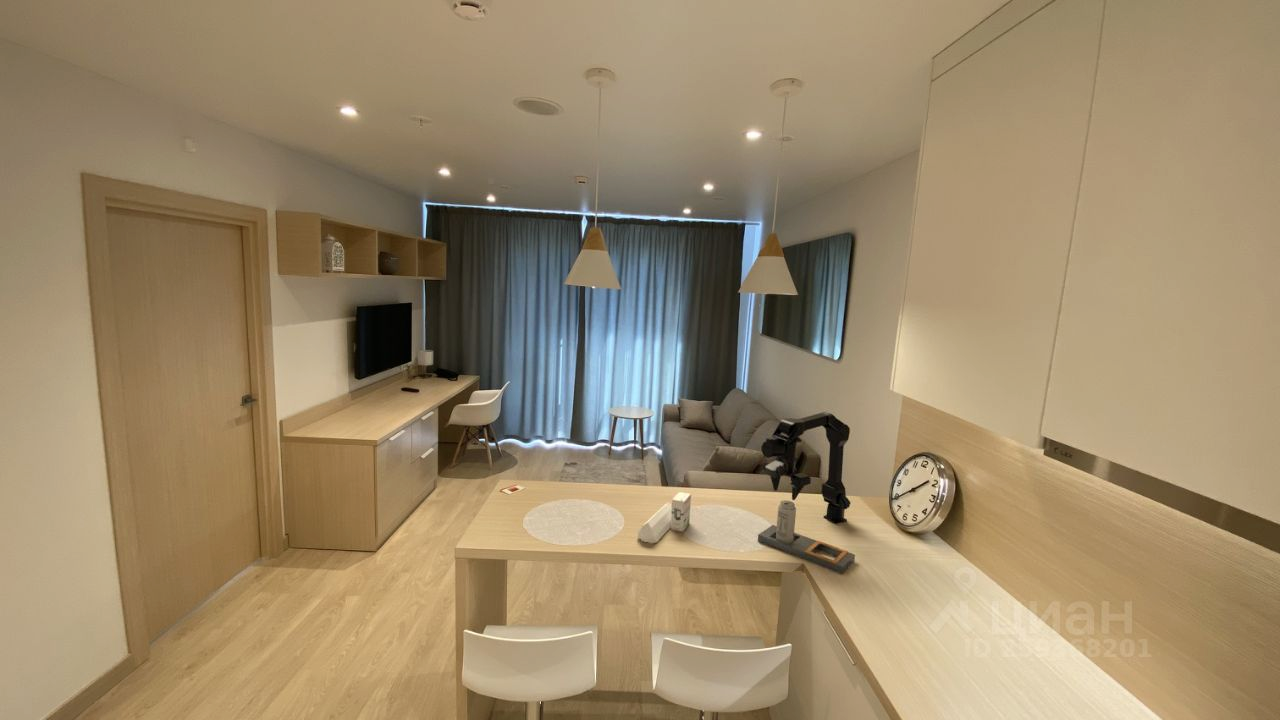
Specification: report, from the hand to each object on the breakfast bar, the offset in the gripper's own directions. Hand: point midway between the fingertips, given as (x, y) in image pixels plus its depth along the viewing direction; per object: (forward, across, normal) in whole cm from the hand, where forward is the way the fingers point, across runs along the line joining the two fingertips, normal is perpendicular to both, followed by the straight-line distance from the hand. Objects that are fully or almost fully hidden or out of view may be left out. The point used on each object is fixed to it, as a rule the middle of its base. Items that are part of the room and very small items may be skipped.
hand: (784, 495), depth 187 cm
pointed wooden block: (+15, -21, -41) cm, 48 cm away
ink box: (+15, -20, -32) cm, 40 cm away
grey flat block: (+15, +14, -2) cm, 20 cm away
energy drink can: (+15, +6, -5) cm, 17 cm away
